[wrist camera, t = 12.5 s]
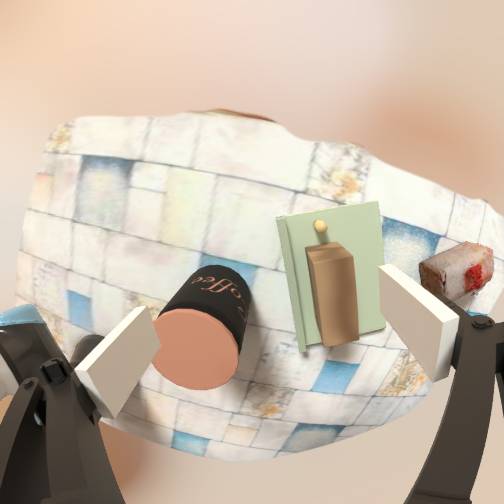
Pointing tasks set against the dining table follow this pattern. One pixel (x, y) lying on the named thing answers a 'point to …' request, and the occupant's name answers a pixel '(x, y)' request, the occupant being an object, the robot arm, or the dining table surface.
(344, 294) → the brown box-like piece
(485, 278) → the food item
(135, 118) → the dining table surface
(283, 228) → the ledge board
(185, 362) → the coffee jar
